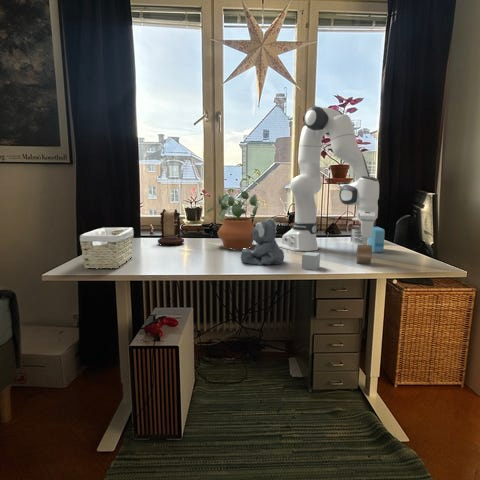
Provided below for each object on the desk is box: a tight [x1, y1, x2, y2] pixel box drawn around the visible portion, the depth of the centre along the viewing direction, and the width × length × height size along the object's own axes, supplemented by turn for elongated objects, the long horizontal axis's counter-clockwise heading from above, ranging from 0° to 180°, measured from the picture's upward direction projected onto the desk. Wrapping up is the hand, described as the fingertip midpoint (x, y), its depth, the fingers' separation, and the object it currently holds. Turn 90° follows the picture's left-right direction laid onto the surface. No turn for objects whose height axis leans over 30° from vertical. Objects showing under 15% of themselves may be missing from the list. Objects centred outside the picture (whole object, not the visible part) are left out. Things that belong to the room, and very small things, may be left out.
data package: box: [367, 226, 386, 254], centre depth 181 cm, size 12×4×12 cm, turn 176°
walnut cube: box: [356, 244, 373, 265], centre depth 155 cm, size 6×6×6 cm
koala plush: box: [240, 217, 285, 266], centre depth 157 cm, size 17×18×20 cm
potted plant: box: [206, 191, 259, 250], centre depth 190 cm, size 23×28×30 cm
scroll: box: [157, 208, 185, 246], centre depth 198 cm, size 15×15×20 cm
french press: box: [346, 216, 363, 245], centre depth 202 cm, size 10×12×25 cm
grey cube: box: [301, 251, 321, 271], centre depth 148 cm, size 6×6×6 cm
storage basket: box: [79, 227, 134, 269], centre depth 154 cm, size 24×16×15 cm
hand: (364, 244), depth 156 cm, fingers closed
